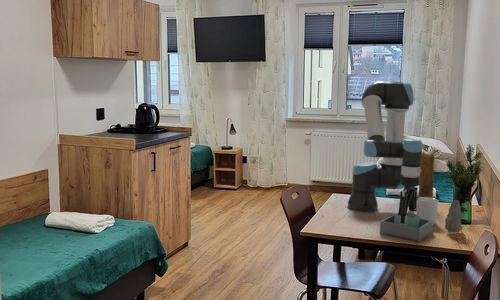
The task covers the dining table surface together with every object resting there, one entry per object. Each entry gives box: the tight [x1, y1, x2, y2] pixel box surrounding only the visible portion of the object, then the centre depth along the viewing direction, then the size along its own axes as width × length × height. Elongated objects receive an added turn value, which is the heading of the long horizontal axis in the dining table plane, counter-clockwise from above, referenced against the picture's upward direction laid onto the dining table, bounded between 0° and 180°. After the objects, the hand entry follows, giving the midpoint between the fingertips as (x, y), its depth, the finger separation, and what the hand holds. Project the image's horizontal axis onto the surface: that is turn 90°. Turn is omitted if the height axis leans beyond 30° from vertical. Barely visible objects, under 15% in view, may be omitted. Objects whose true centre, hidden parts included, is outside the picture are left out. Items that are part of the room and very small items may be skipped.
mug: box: [416, 197, 439, 225], centre depth 222 cm, size 12×9×11 cm
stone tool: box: [444, 199, 463, 234], centre depth 206 cm, size 8×3×15 cm, turn 98°
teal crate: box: [394, 212, 420, 228], centre depth 204 cm, size 8×8×6 cm
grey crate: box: [379, 213, 434, 243], centre depth 204 cm, size 17×17×6 cm
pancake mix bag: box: [417, 153, 435, 199], centre depth 252 cm, size 7×19×28 cm, turn 0°
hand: (406, 228), depth 204 cm, fingers closed on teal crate, 8 cm apart
